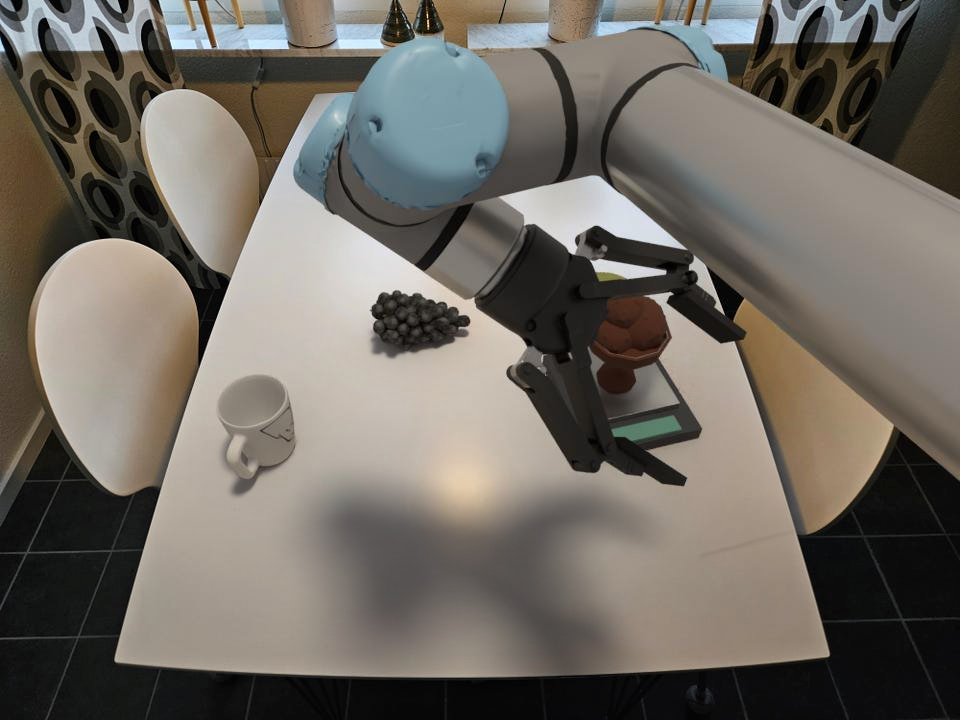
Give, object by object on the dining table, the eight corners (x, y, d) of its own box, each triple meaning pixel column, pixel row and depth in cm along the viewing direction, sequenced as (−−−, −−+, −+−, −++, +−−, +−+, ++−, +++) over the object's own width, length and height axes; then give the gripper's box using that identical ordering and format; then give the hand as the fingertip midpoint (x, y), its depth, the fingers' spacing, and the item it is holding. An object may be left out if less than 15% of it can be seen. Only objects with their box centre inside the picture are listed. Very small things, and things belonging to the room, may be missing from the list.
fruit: (470, 278, 94) (366, 280, 93) (473, 329, 91) (365, 332, 90) (468, 307, 102) (373, 309, 101) (471, 355, 99) (372, 357, 98)
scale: (699, 437, 86) (704, 426, 84) (587, 464, 84) (589, 452, 82) (641, 344, 98) (645, 331, 96) (542, 364, 95) (543, 352, 93)
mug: (278, 500, 80) (258, 454, 72) (215, 488, 81) (189, 442, 74) (313, 427, 87) (298, 378, 80) (255, 416, 88) (234, 368, 81)
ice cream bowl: (583, 409, 86) (599, 329, 75) (572, 348, 93) (585, 267, 82) (663, 407, 86) (690, 327, 75) (645, 347, 93) (668, 266, 82)
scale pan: (678, 407, 87) (680, 403, 86) (588, 428, 85) (589, 423, 84) (637, 341, 96) (639, 336, 95) (555, 357, 93) (555, 353, 93)
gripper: (547, 154, 55) (725, 292, 60) (403, 410, 48) (619, 539, 53) (594, 113, 48) (790, 274, 53) (434, 406, 41) (679, 555, 46)
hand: (705, 407), depth 53 cm, fingers open, 13 cm apart
